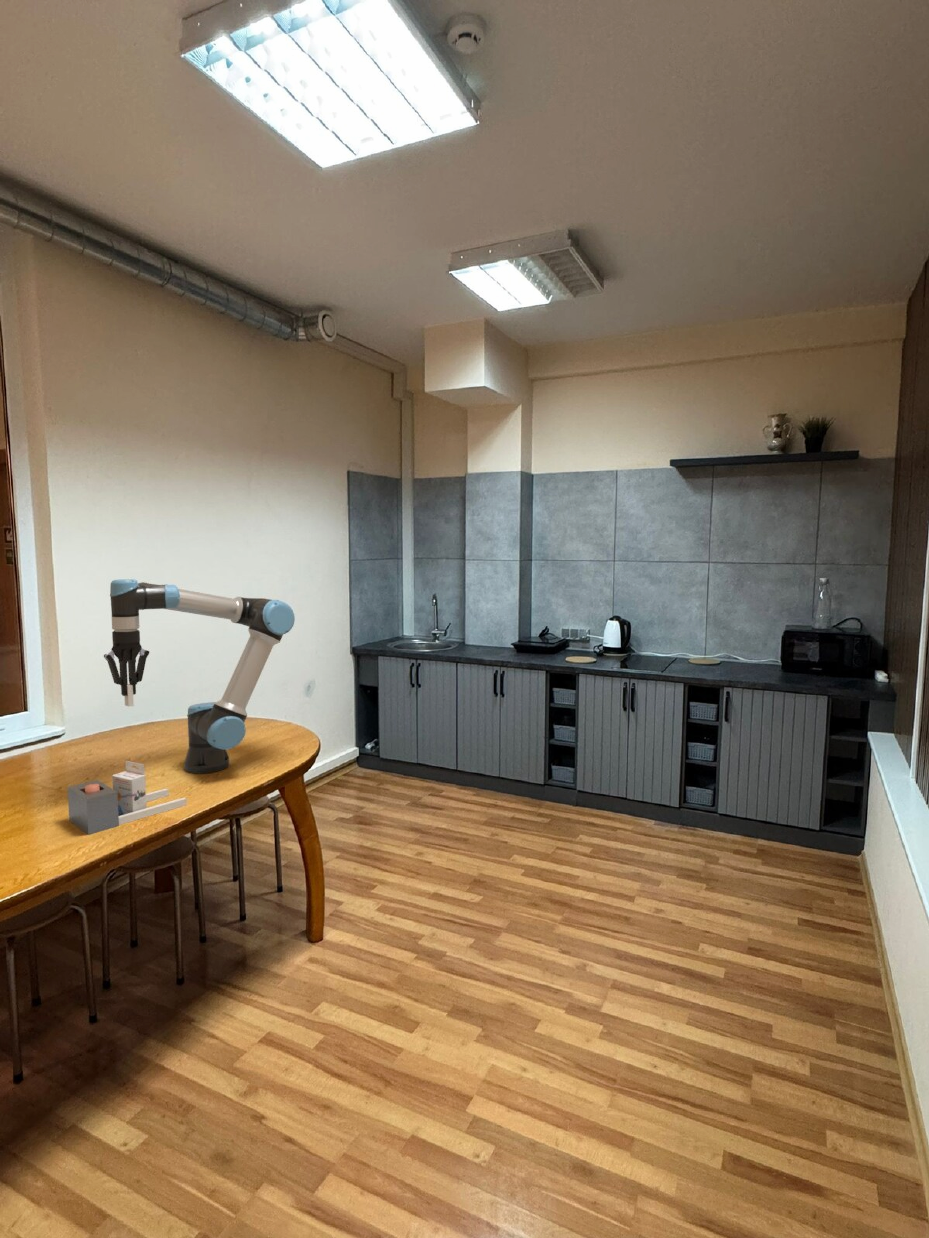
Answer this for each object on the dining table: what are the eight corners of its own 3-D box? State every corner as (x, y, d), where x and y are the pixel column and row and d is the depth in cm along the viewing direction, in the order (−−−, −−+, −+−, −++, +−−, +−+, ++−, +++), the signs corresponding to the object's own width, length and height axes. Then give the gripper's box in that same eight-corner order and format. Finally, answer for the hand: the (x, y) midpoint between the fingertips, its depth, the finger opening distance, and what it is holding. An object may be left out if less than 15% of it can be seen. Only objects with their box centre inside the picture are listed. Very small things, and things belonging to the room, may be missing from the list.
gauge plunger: (97, 799, 192) (96, 782, 191) (102, 802, 189) (101, 785, 189) (83, 803, 189) (82, 786, 188) (88, 806, 187) (87, 789, 186)
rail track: (166, 794, 212) (166, 788, 212) (186, 804, 204) (186, 798, 203) (99, 812, 197) (99, 806, 197) (118, 825, 189) (117, 818, 188)
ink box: (112, 813, 197) (110, 765, 195) (127, 807, 201) (125, 760, 200) (133, 818, 193) (131, 769, 192) (147, 812, 198) (145, 764, 196)
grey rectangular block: (99, 812, 197) (97, 779, 196) (118, 825, 188) (117, 791, 187) (69, 820, 191) (67, 786, 190) (88, 834, 182) (86, 799, 181)
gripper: (142, 627, 211) (145, 700, 214) (98, 630, 201) (102, 707, 204) (152, 629, 206) (155, 703, 209) (108, 633, 196) (112, 711, 199)
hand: (129, 705), depth 206 cm, fingers closed
